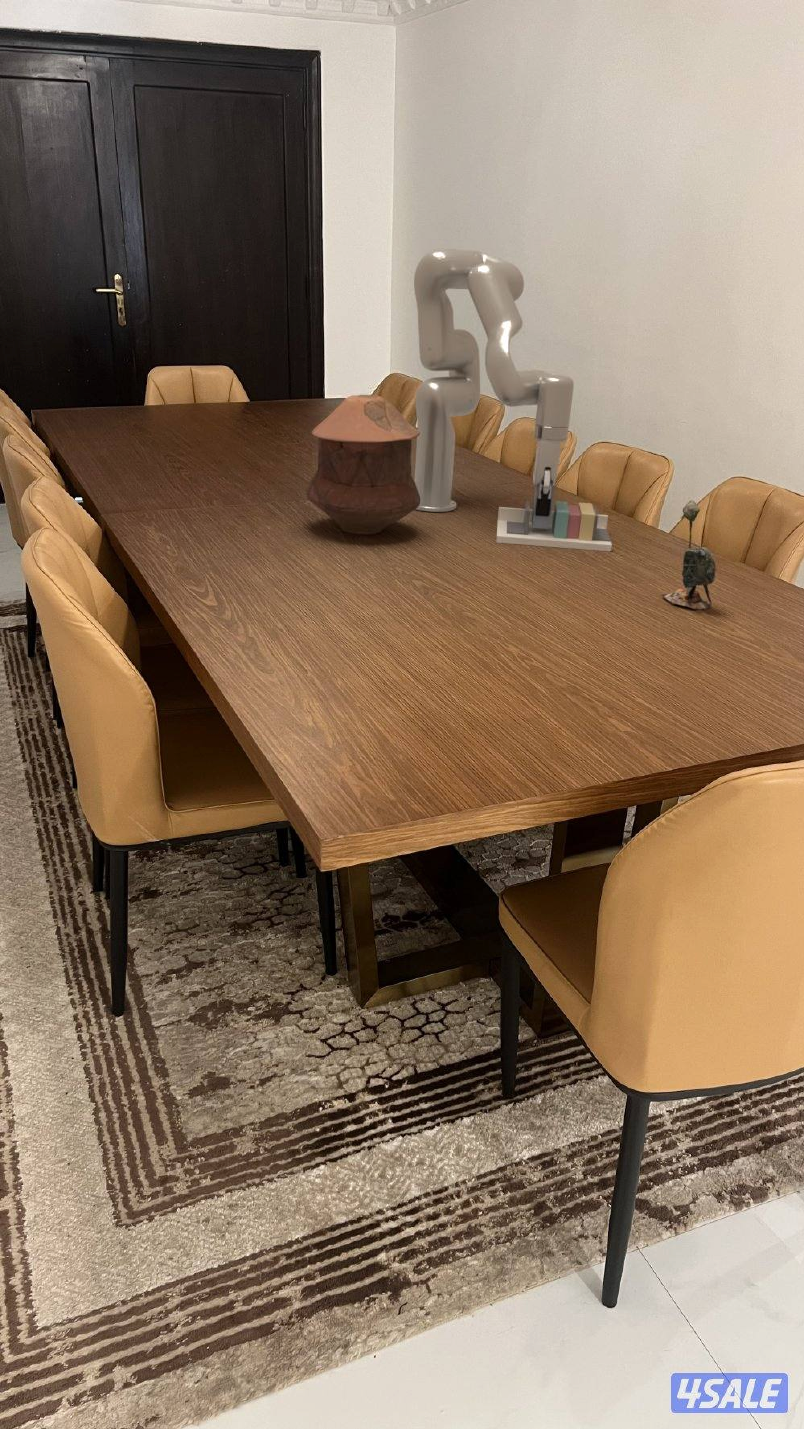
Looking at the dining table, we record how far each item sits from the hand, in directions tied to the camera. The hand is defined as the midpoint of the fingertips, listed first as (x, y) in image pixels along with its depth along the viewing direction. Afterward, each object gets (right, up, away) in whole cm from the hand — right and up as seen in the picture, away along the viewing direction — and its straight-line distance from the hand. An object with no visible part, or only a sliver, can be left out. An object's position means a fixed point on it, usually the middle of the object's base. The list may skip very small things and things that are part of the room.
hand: (541, 511), depth 236 cm
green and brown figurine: (+23, -26, -38) cm, 52 cm away
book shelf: (+3, -6, +2) cm, 7 cm away
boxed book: (0, -3, +1) cm, 3 cm away
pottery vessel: (-42, -5, -1) cm, 42 cm away
